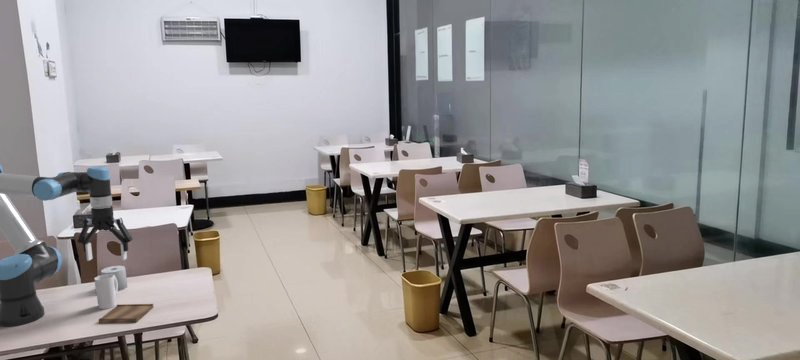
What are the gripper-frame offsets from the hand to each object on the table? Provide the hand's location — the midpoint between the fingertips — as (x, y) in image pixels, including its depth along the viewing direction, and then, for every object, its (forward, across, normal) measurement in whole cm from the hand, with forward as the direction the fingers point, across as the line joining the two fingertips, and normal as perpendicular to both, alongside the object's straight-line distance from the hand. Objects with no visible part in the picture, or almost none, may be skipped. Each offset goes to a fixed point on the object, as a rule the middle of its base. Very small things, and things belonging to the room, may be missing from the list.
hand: (107, 259), depth 229 cm
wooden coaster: (+18, +11, -11) cm, 24 cm away
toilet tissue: (+19, -8, +20) cm, 29 cm away
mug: (+19, 0, 0) cm, 19 cm away
